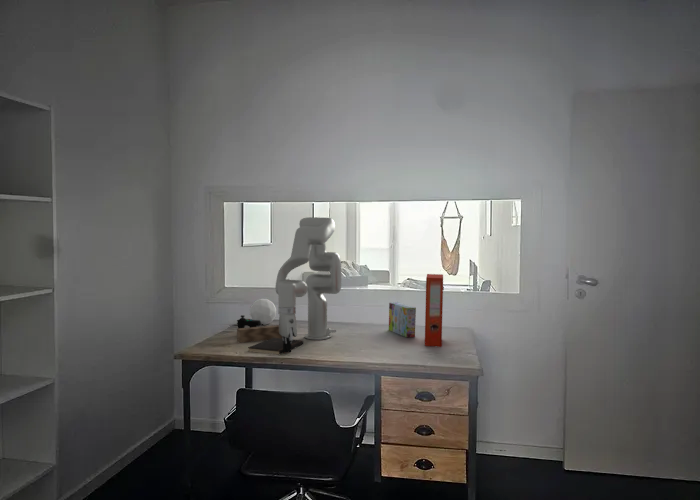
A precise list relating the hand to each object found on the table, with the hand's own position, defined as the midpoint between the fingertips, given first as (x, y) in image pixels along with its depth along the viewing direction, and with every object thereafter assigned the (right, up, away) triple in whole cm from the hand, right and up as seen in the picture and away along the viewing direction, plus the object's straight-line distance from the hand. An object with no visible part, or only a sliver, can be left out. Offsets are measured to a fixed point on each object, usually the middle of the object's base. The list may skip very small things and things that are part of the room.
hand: (287, 352), depth 256 cm
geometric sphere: (-21, +3, +69) cm, 72 cm away
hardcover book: (-6, -1, +11) cm, 13 cm away
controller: (-23, +1, +37) cm, 44 cm away
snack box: (+54, +1, +45) cm, 70 cm away
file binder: (+68, 0, +24) cm, 72 cm away
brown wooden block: (-15, +1, +28) cm, 32 cm away
